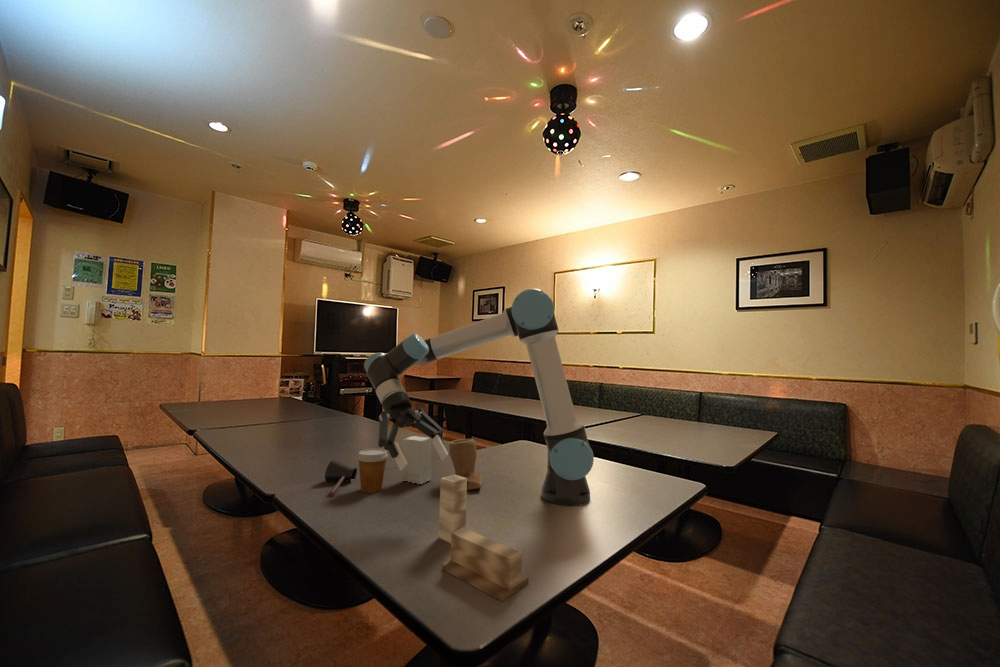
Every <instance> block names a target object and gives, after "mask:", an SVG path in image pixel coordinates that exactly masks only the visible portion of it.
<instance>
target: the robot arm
mask: <svg viewBox="0 0 1000 667" xmlns="http://www.w3.org/2000/svg"><path fill="white" fill-rule="evenodd" d="M559 331H560V330H559V327H558V323H557V319H556V314H555V305H554V301H553V299H552V298H551V296H549V294H548V293H546V292H545V291H543V290H542V289H539V288H528V289H525V290H523V291H521V292H520V293H519V294H517V295H516V297H515V298H514V300H513V302H512V304H511V306H510V307H507V308H504V310H503V312H502V313H499V314H496V315H493V316H491V317H488V318H485V319H482V320H478V321H476V322H473V323H470V324H467V325H464V326H462V327H458V328H455V329H453V330H449V331H447V332H443V333H441V334H438V335H436V336H435V335H434V336H433V337H430V338H427V339H423V338H422V336H420V335H419V334H417V333H411V335H409V336H408V337H406V338H404V339H403V340H402V341H401V342H400V343H398V344H397V345H396V346H395V347H393V348H392V349H391V350H390V351H388V352H387V353H384V352H376V353H374V354H371V355H369V356H368V357H367V358H366V360H364V364H363V367H364V369H365V373H366V375H367V378H368V379H369V381H370V383H371V386H372V387H373V390H374V392H375V394H376V396H377V398H378V400H379V402H380V404H381V406H382V408H383V409H382V410H383V411H381V413H380V415H379V416H378V418H377V419H378V422H379V429H378V430H379V431H378V444H377V446H378V447H379V448H383V449H384V450H386V451H388V453H389V454H390V457H391V458H392V459H394V460H395V463H396V465H397V466H398V467H397V468H398V469H399V471H403V469H404V468H405V467H406V465H407V464H408V463H407V461H406V459H405V457H404V455H403V450H402V449H401V447H400V444H399V443H398V441H395V440H396V436H397V434H398V431H399V429H400V428H401V429H403V428H405V427H406V428H409V427H411V428H412V429H417V430H418V431H420V432H422V433H423V434H424V435H426V436H427V437H428V438H431V443H432V444H433V447H434V448H435V451H436V452H437V455H438V456H439V458H440V460H441V462H442V461H445V459H447V457H448V456H450V453H449V452H448V450H447V448H446V447H445V442H444V440H443V438H442V434H444V432H445V430H444V429H443V428H442V427H441V426H440V425H439V424H438V423H437V422H436V421H435V420H434V419H432V418H431V417H430V416H429V415H428V414H427V413H426V411H425V409H424V408H422V407H419V408H418V409H417V410H415V409H414V408H413V406H412V402H411V399H410V398H409V396H408V393H407V392H406V390H405V387H404V386H403V384H402V381H401V380H400V379H399V377H400V376H401V375H402V374H404V373H405V372H406V371H408V370H409V369H410V368H411V367H413V366H425V365H428V364H430V363H433V362H435V361H438V360H441V359H443V358H447V357H450V356H452V355H455V354H457V353H458V354H459V353H460V352H463V351H466V350H470V349H473V348H476V347H479V346H482V345H485V344H488V343H492V342H493V341H496V340H497V341H498V340H500V339H503V338H505V337H509V336H511V337H515V338H516V337H518V339H519V342H521V343H523V344H524V345H525V346H526V348H527V353H528V357H529V361H530V366H531V369H532V372H533V376H534V380H535V384H536V387H537V392H538V395H539V399H540V403H541V408H542V411H543V415H544V419H545V423H546V428H545V430H544V432H543V437H544V440H545V443H546V447H547V448H546V449H547V467H546V468H547V470H546V474H545V477H544V479H543V483H542V486H541V494H540V495H541V498H543V500H545V501H547V502H549V503H552V504H555V505H559V506H560V505H561V506H569V507H570V506H581V505H585V504H588V503H589V502H590V501H591V490H590V488H589V484H588V481H587V477H586V476H587V475H588V474H589V473H590V471H591V470H592V468H593V465H594V451H593V449H592V448H591V446H590V443H589V439H588V436H587V433H586V427H585V425H584V423H583V422H581V421H580V420H578V419H577V415H576V412H575V407H574V403H573V400H572V396H571V393H570V392H571V391H570V390H569V385H568V381H567V378H566V373H565V370H564V366H563V363H562V359H561V355H560V350H559V347H558V344H557V340H556V336H557V334H558V333H559ZM389 421H390V422H391V423H392V426H391V430H390V432H389V435H388V427H389V426H388V425H389Z"/></svg>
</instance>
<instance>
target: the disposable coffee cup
mask: <svg viewBox="0 0 1000 667" xmlns="http://www.w3.org/2000/svg"><path fill="white" fill-rule="evenodd" d="M388 457H389V454H388V450H385V449H384V448H368V449H367V448H366V449H363V450H360V451H359V452H358V455H357V456H356V458H357V460H358V469H359V481H360V482H359V483H360V491H361V490H362V491H363V492H362V491H361V492H362V493H365V492H373V493H377V492H376V491H378V492H380V491H381V490H382V487H383V482H384V475H385V469H386V463H387V459H388ZM379 490H380V491H379Z"/></svg>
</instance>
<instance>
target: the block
mask: <svg viewBox="0 0 1000 667" xmlns="http://www.w3.org/2000/svg"><path fill="white" fill-rule="evenodd" d="M439 483H440V488H439V514H438V515H439V518H438V521H439V522H438V539H440V540H443V541H445V542H446V543H449V544H451V533H452V532H455V531H457V530H459V529H461V528H465V529H467V527H466V526H467V524H466V523H467V493H468V492H467V491H468V490H467V478H464V477H461V476H458V475H455V473H454V474H451V475H447V476H444V477H441V478H440V482H439Z"/></svg>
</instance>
